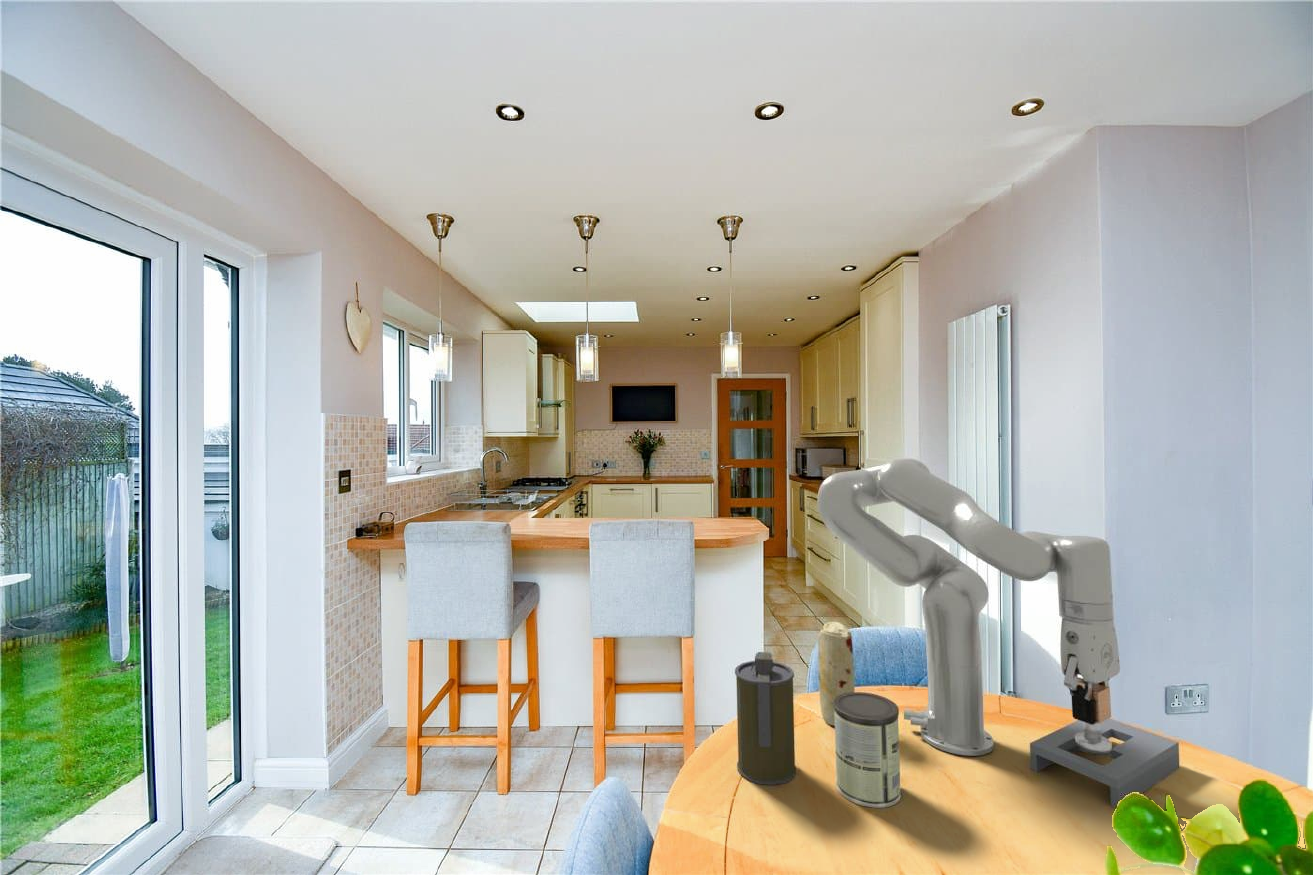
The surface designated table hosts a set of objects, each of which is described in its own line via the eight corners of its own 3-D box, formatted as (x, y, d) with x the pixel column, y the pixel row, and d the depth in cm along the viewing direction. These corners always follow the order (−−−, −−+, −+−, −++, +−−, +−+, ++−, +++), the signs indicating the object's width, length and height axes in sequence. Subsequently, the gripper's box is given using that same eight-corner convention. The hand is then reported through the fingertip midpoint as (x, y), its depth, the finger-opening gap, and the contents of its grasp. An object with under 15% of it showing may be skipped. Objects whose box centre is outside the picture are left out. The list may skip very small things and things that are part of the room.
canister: (738, 751, 110) (736, 644, 110) (795, 755, 107) (792, 647, 108) (734, 784, 99) (732, 666, 99) (797, 790, 97) (794, 669, 97)
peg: (1103, 759, 95) (1099, 694, 95) (1069, 746, 99) (1066, 684, 100) (1117, 750, 97) (1114, 687, 98) (1084, 738, 102) (1081, 677, 102)
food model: (863, 731, 116) (860, 631, 116) (831, 733, 115) (828, 632, 116) (843, 709, 126) (841, 617, 126) (813, 711, 125) (811, 618, 125)
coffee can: (836, 768, 103) (834, 688, 103) (899, 777, 100) (896, 695, 100) (834, 802, 93) (832, 714, 94) (903, 814, 90) (901, 722, 90)
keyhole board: (1118, 808, 90) (1117, 779, 90) (1030, 769, 101) (1029, 743, 102) (1179, 768, 101) (1178, 741, 101) (1093, 736, 112) (1093, 712, 112)
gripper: (1085, 623, 92) (1091, 740, 91) (1134, 606, 100) (1140, 713, 99) (1035, 612, 98) (1040, 721, 98) (1085, 597, 106) (1090, 698, 106)
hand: (1091, 716), depth 99 cm, fingers closed on peg, 4 cm apart
